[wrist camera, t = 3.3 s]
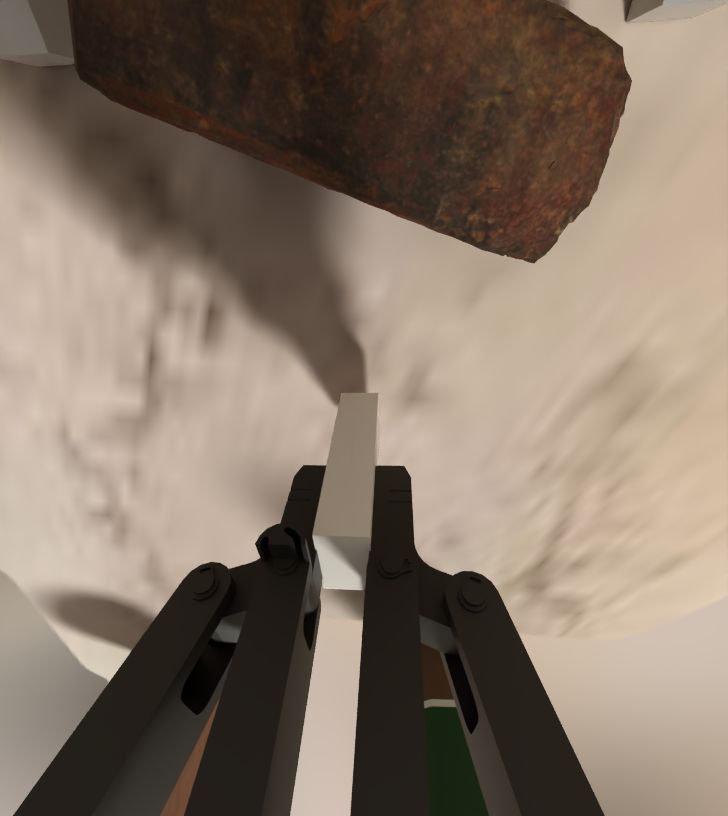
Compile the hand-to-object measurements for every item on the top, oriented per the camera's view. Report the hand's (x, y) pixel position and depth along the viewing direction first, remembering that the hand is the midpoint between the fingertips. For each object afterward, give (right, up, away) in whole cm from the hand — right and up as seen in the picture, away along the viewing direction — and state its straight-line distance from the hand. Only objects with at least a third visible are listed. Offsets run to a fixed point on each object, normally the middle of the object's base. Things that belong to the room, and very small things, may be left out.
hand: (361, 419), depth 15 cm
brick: (0, +9, -5) cm, 11 cm away
